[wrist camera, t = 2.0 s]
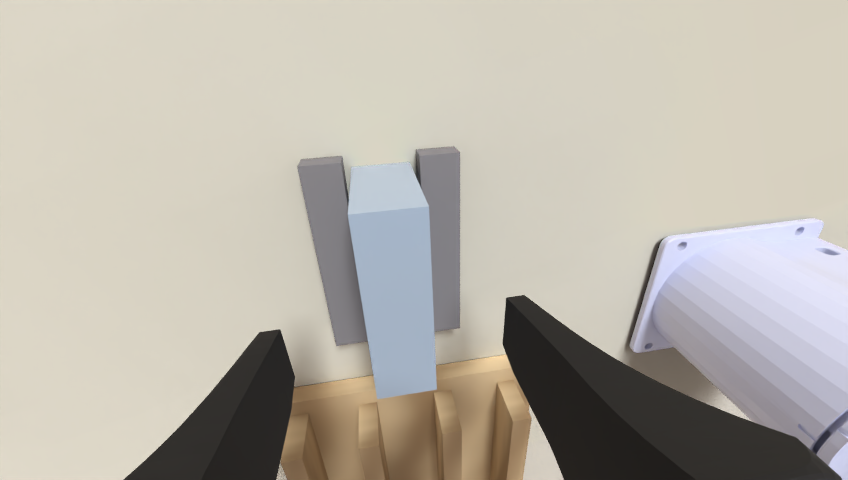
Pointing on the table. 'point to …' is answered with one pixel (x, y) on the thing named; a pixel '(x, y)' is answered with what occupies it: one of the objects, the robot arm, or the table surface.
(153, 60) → the table surface
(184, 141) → the table surface
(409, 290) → the light blue slab
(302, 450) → the dish rack
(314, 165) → the drying stand
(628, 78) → the table surface
